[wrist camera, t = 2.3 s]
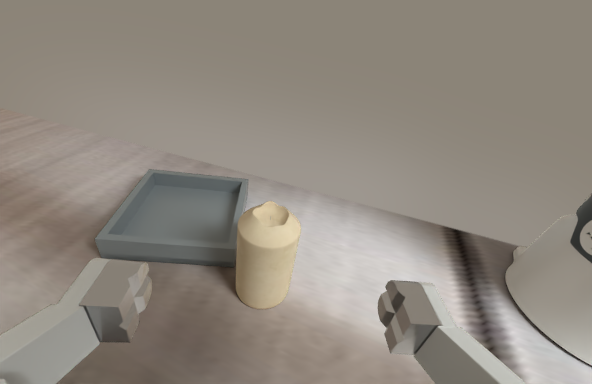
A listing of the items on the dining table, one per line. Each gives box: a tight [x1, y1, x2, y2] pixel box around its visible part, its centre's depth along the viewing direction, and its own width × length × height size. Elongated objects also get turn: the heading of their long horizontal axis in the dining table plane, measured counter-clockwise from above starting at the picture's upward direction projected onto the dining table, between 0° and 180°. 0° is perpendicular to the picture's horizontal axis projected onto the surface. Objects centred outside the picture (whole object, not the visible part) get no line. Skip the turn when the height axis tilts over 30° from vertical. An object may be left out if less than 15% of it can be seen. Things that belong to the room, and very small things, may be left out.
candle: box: [236, 201, 301, 309], centre depth 26 cm, size 6×6×10 cm
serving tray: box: [95, 169, 248, 267], centre depth 34 cm, size 14×14×3 cm
